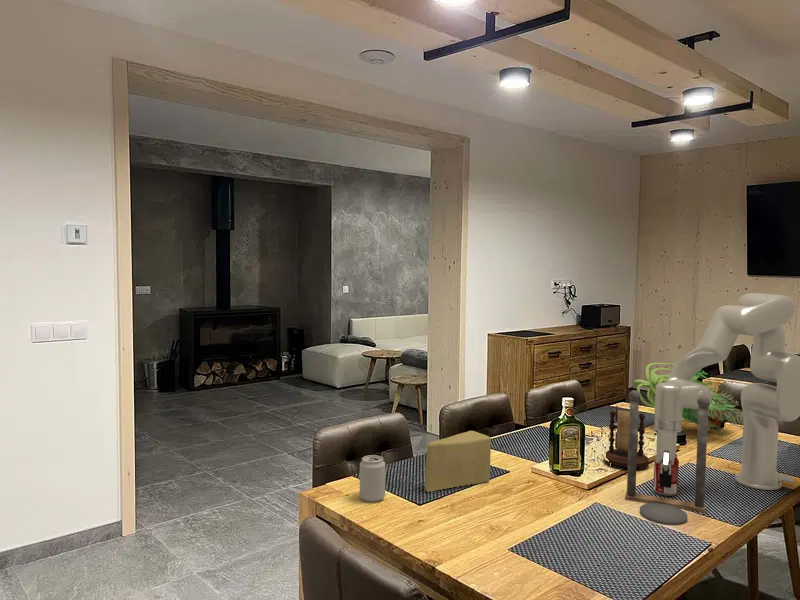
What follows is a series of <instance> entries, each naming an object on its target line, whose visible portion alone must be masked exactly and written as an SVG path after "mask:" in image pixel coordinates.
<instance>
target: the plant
mask: <svg viewBox="0 0 800 600" xmlns="http://www.w3.org/2000/svg"><path fill="white" fill-rule="evenodd" d="M676 364H677V363H670V362H652V363H648V364H647V365H646V367H645V376H646V378H647V380H645V379H640V378H639V379H635V380H634V381H633V382H632V383H633V384H634V385H636V386H637V387H636V388H637V389H636V391H638V392H639V393H640V399H639V400H640V401H641V403H643V404H644V405H646V407H644V408H646V409H647V410H648V411H652V412H654V409H655V392H656V385H657V384H658V383H662V382H667V379H668V377H669V375H670V374H669V373H668V374H661V375H660V374H657V373H656V371H658V370H669V371H672V370H673V368H672V369H671V368H669V367H655V368H653V369H652V370H651V373H649V369H650V367H651V366H652V365H673V366H675V365H676ZM705 375H709V373H707V372H705V371H704V370H702V369H700V370H699V371H697V372H696V373H695V374H694V376H693V377H692V378H691V380H690V381H692V382H695V383H699V384H702V385H704V386H706V387H707V388H708V389H709V390H710V391H711V393H712V400H711V402H710V405H709V407H708V427H707V429H708V431H709V432H710V433H711V430H713V432H714V434H717V435H718V437H720V435H721V439H725V437H726V438H727V439H728V440H729V441H730V442H731V441H732V440H731V439H730V438H729V437H728V436H730V437H732V435H731V434H729V431H727V430H724V428H725V426H726V425H725V424H726V423H727V422H729V423H731V425H732V426H735V427H736V426H737V427H738V428H740V429H742V430H743V415H740V414H739V412H742V410H740V409H736V408H735V407H736V406H738V407H740V406H741V407H742V405H741V404H739V401H737V400H735V401H734V400H733V397H732V396H731V395H732V394H729V395H727V393H728V392H727V390H726V392H725V393H724V390H722V392H718V391H717V390H721V389H720V388H717V387H714V386H711V385H713V380H711V379H710V381H709V380H708V381H707V379H708V377H706V376H705ZM698 378H701V379H702V380H704V381H705V382H704V381H700V380H698ZM704 378H705V379H704ZM641 387H646V388H647V392H646V395H645V396H646V398H647V399H648V401H649V402H650V403H649V402H648V401H646V400H645V398H644V396H642V394H641V392H640V391H641ZM729 401H730V402H729ZM647 406H648V408H647ZM649 407H650V408H649ZM651 408H654V409H651ZM698 411H699V409H693V408H682V423H684V424H682V427H684V426H686V425H687V423H688V425H689V426H688V427H687V429H689V428H690V427H692V426H693V427H695V426H698ZM643 414H644V415H645V416H646V413H643ZM732 414H734V415H736V416H733V415H732ZM638 415H640V413H639V412H638ZM649 416H650V417H653V415H649ZM738 417H739V418H738ZM648 420H651V421H652V420H653V421H654V418H649V419H648ZM736 420H737V421H736ZM737 422H738V423H737ZM727 435H728V436H727ZM724 436H725V437H724Z"/></svg>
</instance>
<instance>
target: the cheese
mask: <svg viewBox="0 0 800 600" xmlns="http://www.w3.org/2000/svg"><path fill="white" fill-rule="evenodd" d="M491 441H492V439H491V437H490V436H489V435H486V434H483V433H480V432H477V431H475V430H468V431H465V432H461V433H457V434H455V435H451V436H449V437H448V436H447V437H445V438H444V437H443V438H441V439H438V440H433V441H430V442H428V443H427V448H426V457H425V464H424V465H425V468H424V492H426V491H428V492H429V491H436V490H442V489H447V488H452V489H454V488H453V487H457V488H460V487H459V486H462V487H466V486H465V485H467V486H472V485H477V484H483V483H484V482H485V483H488V482H490V478H491V477H490V476H491V474H490V473H491V472H490V471H491V450H492V449H491V445H492V444H491ZM471 484H472V485H471ZM447 490H448V489H447ZM442 491H443V490H442ZM428 492H427V493H428Z"/></svg>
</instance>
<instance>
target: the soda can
mask: <svg viewBox="0 0 800 600" xmlns="http://www.w3.org/2000/svg"><path fill="white" fill-rule="evenodd" d="M671 462H672V461H671ZM662 463H664V461H663V462H662ZM668 464H670V462H669V461H668ZM668 467H669V466H668ZM679 468H680V461H679V458H678V455H677V454H676V453H675V459H674V464H673V465H671V474H672V479H671V488H667V487H661V486H659V480H660V473H661V462H660V463H656V455H655V456H654V459H653V482H652V483H653V486H652V489H653V491H654V492H655V493H657V494H658V495H661V496H665V497H673V496H676V495H678V491H679V471H680V470H679Z"/></svg>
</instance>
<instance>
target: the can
mask: <svg viewBox="0 0 800 600" xmlns="http://www.w3.org/2000/svg"><path fill="white" fill-rule="evenodd" d="M359 497H360V498H361V499H362V500H363V501H364V502H367V503H377V501H378V502H380V501H382V500H383V499H384V498H385V497H386V462H385V460H384V458H383V456H380V455H376V454H375V455H374V454H373V455H372V454H370V455H365V456H363V457H362V458H361V461H360V463H359Z"/></svg>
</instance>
